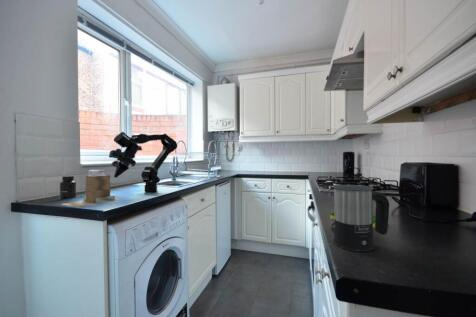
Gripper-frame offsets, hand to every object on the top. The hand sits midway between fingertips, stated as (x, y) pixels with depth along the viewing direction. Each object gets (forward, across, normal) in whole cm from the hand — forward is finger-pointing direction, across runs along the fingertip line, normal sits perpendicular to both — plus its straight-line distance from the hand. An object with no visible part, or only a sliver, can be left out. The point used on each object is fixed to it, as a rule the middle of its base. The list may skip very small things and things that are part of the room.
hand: (115, 177), depth 115 cm
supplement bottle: (+16, -18, -9) cm, 26 cm away
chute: (+16, +3, -3) cm, 17 cm away
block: (+14, +3, -2) cm, 14 cm away
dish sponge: (+1, +100, +50) cm, 112 cm away
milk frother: (+12, +104, +34) cm, 110 cm away
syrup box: (+8, -22, +2) cm, 23 cm away
